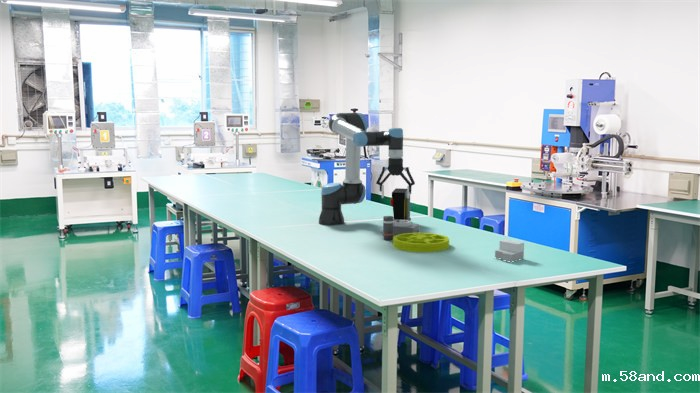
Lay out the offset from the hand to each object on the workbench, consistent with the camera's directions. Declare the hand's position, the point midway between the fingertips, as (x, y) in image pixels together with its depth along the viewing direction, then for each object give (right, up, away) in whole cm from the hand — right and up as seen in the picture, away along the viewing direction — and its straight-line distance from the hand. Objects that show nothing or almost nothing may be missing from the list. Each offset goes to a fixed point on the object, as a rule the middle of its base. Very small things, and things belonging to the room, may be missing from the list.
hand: (395, 198), depth 332 cm
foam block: (+49, -29, -49) cm, 75 cm away
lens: (-4, -22, -4) cm, 22 cm away
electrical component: (+6, -16, +38) cm, 42 cm away
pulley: (+11, -24, -18) cm, 33 cm away
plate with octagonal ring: (+4, -20, +10) cm, 22 cm away
